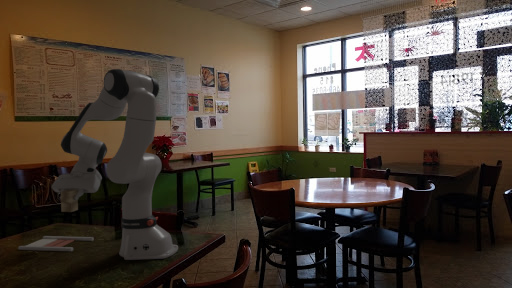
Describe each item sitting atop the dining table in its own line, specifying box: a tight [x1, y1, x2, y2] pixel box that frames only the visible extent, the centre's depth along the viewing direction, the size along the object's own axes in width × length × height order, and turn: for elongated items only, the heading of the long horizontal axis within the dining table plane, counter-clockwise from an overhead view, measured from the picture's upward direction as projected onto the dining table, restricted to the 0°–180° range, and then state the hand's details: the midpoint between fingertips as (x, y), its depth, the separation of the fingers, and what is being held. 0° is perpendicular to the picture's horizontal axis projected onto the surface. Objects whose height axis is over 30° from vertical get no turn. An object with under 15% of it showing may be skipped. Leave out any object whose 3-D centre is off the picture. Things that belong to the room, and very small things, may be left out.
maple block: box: [60, 190, 79, 213], centre depth 153 cm, size 4×4×8 cm
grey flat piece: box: [17, 235, 95, 252], centre depth 154 cm, size 24×15×1 cm, turn 82°
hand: (68, 199), depth 152 cm, fingers closed on maple block, 4 cm apart
